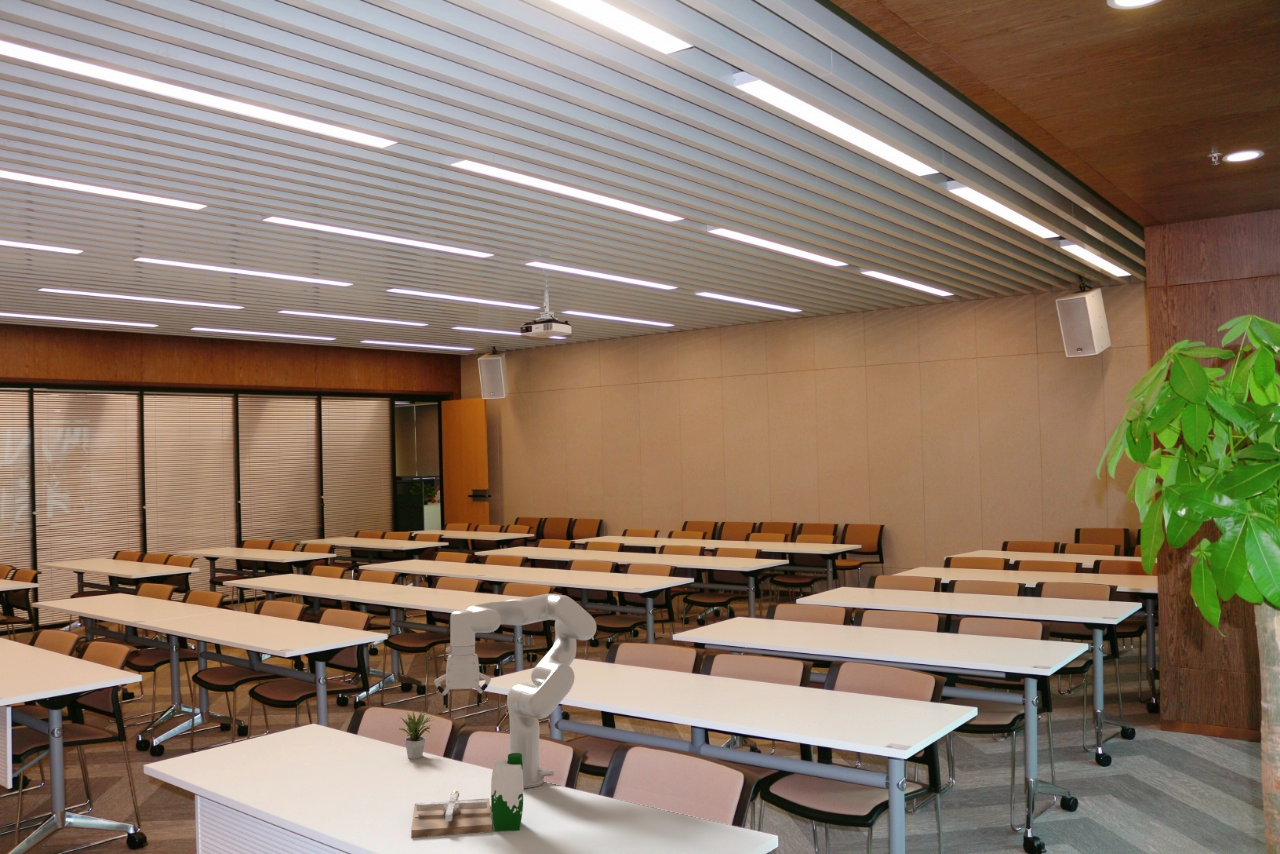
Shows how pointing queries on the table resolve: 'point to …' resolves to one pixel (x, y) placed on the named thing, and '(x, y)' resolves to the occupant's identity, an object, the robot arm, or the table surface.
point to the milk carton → (507, 793)
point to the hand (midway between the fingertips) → (462, 706)
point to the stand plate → (451, 822)
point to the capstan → (452, 806)
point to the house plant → (415, 735)
